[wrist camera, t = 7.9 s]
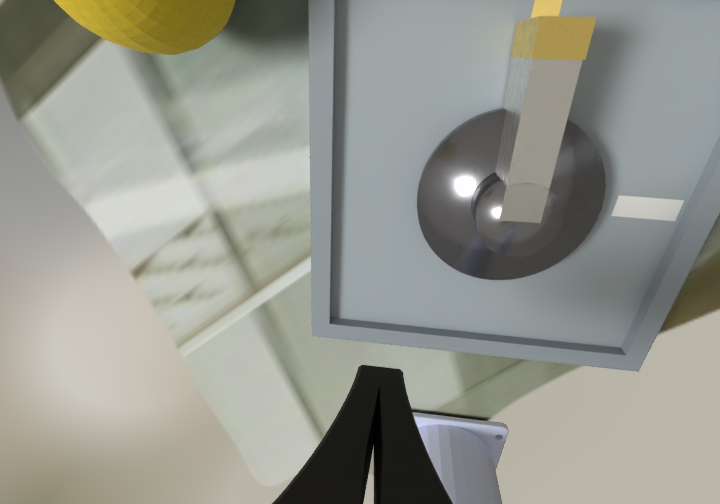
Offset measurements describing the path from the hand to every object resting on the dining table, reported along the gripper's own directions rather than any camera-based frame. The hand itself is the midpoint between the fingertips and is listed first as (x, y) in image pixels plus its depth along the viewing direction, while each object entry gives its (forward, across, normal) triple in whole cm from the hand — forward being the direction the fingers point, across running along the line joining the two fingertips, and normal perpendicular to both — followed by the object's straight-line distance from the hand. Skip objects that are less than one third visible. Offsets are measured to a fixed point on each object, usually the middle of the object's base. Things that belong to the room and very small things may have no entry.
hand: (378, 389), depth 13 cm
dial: (+9, -5, -5) cm, 11 cm away
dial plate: (+10, -5, -4) cm, 12 cm away
